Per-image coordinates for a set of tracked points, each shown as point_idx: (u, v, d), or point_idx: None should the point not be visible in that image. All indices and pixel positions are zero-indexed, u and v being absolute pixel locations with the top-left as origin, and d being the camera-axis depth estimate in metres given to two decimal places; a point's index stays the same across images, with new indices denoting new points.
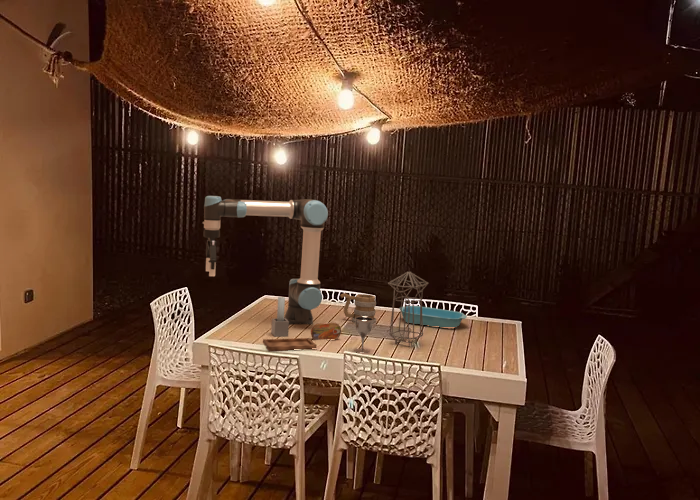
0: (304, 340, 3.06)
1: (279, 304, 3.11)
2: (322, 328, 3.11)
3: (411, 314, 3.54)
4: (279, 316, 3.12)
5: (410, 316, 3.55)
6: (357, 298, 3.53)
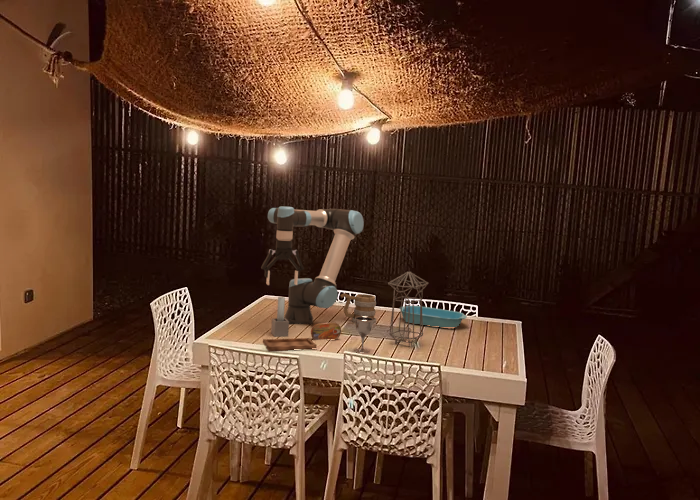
0: (304, 340, 3.06)
1: (279, 304, 3.11)
2: (322, 328, 3.11)
3: (411, 314, 3.55)
4: (279, 316, 3.12)
5: (410, 316, 3.55)
6: (357, 298, 3.53)
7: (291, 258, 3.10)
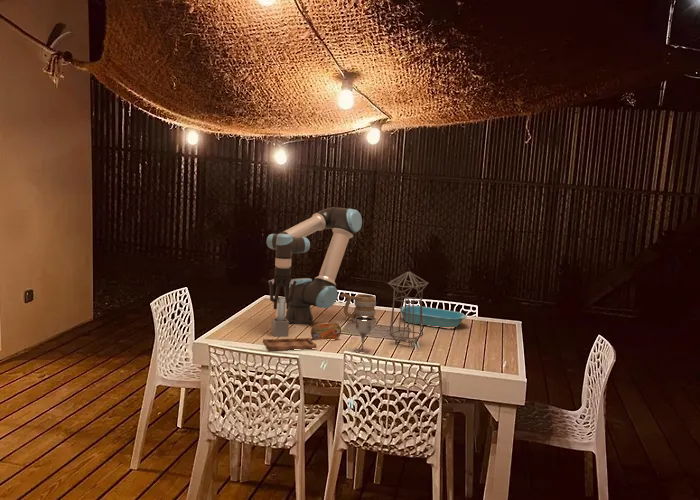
0: (304, 340, 3.06)
1: (279, 304, 3.11)
2: (322, 328, 3.11)
3: (410, 314, 3.55)
4: (279, 316, 3.12)
5: (409, 316, 3.56)
6: (357, 298, 3.53)
7: (287, 287, 3.11)
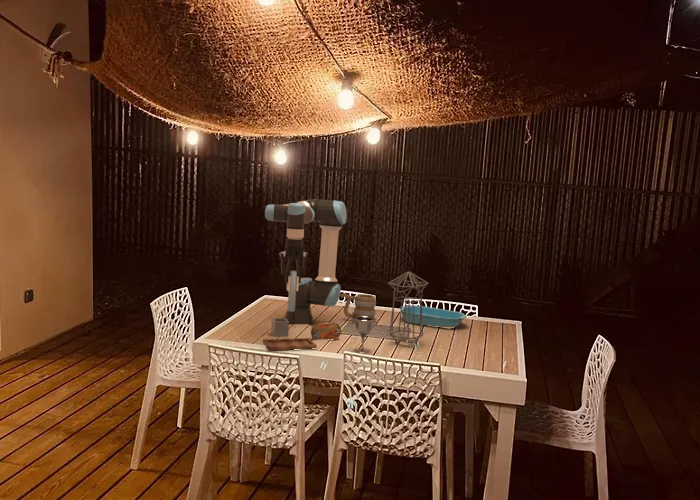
0: (304, 340, 3.06)
1: (291, 278, 2.93)
2: (322, 328, 3.11)
3: (410, 313, 3.56)
4: (291, 291, 2.93)
5: (409, 315, 3.56)
6: (357, 298, 3.53)
7: (299, 260, 2.92)
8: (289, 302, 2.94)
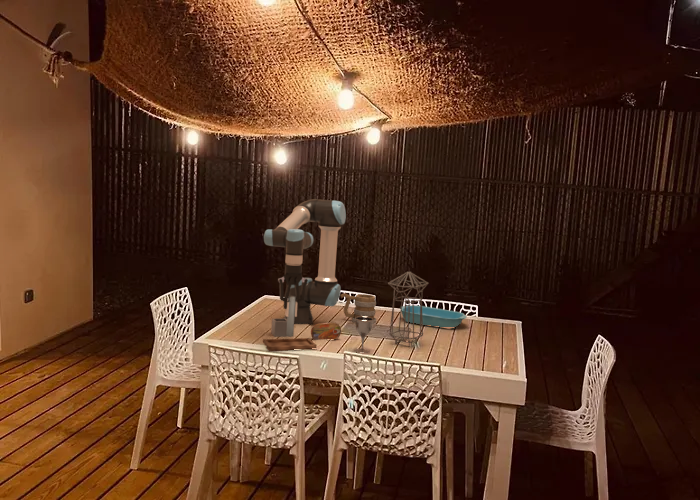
0: (304, 340, 3.06)
1: (289, 303, 2.94)
2: (322, 328, 3.11)
3: (410, 313, 3.56)
4: (289, 316, 2.95)
5: (409, 315, 3.57)
6: (357, 298, 3.53)
7: (298, 285, 2.94)
8: (288, 327, 2.96)
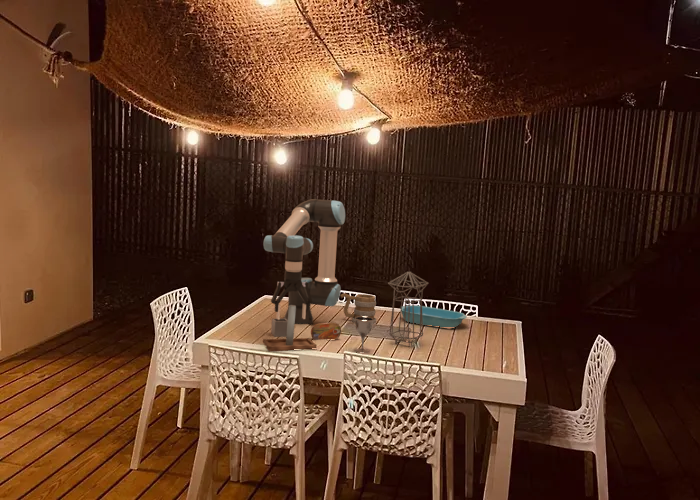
0: (304, 340, 3.06)
1: (290, 312, 2.95)
2: (322, 328, 3.11)
3: (410, 313, 3.56)
4: (289, 325, 2.95)
5: (409, 315, 3.57)
6: (357, 298, 3.53)
7: (300, 290, 2.94)
8: (287, 336, 2.96)
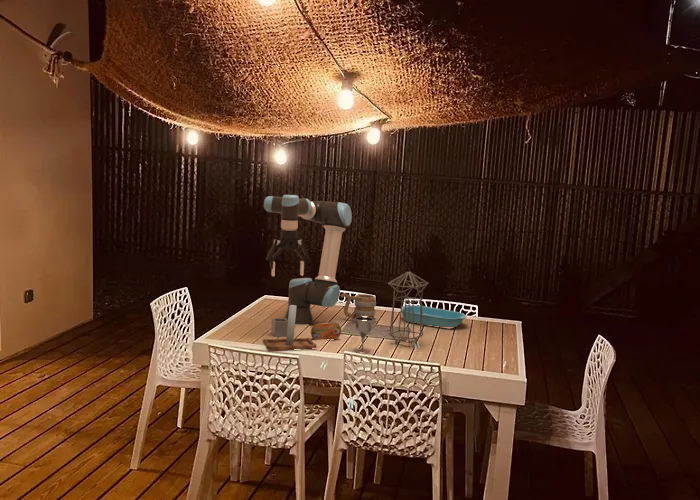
0: (304, 340, 3.06)
1: (290, 312, 2.95)
2: (322, 328, 3.11)
3: (410, 313, 3.57)
4: (290, 325, 2.95)
5: (409, 315, 3.57)
6: (357, 298, 3.53)
7: (297, 248, 3.00)
8: (287, 336, 2.96)
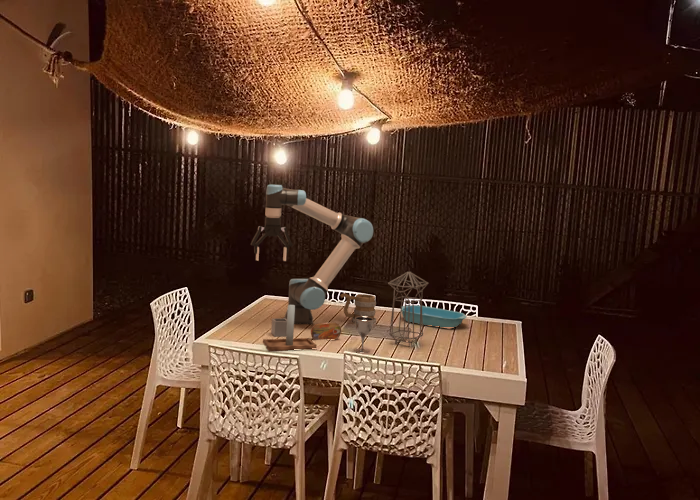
0: (304, 340, 3.06)
1: (289, 312, 2.95)
2: (322, 328, 3.11)
3: None
4: (289, 325, 2.96)
5: (409, 315, 3.58)
6: (357, 298, 3.53)
7: (280, 235, 3.19)
8: (287, 336, 2.96)
